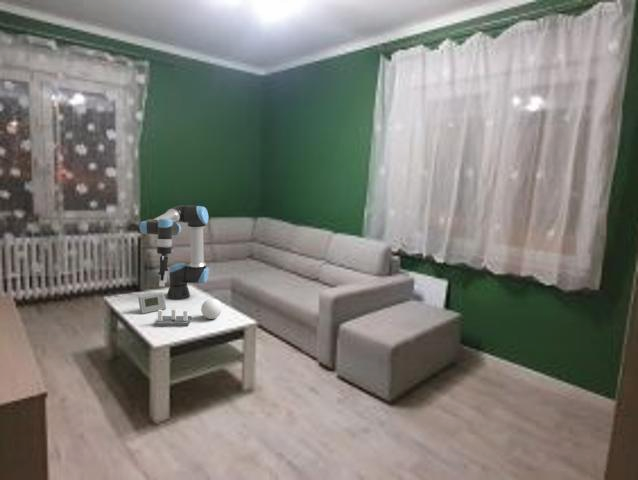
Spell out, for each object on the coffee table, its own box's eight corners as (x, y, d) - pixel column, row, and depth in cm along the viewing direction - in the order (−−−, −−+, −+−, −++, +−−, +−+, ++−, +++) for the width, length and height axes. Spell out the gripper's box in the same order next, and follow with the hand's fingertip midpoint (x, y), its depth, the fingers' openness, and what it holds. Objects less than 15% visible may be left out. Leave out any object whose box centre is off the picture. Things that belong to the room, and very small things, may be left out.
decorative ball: (225, 317, 256) (225, 298, 254) (212, 323, 245) (212, 303, 243) (210, 313, 261) (210, 295, 259) (197, 319, 250) (197, 300, 248)
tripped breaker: (172, 318, 244) (172, 308, 243) (176, 318, 244) (175, 308, 243) (171, 319, 241) (171, 309, 240) (175, 319, 242) (175, 309, 241)
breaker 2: (184, 319, 242) (184, 309, 241) (187, 319, 242) (187, 309, 241) (183, 321, 240) (183, 311, 239) (186, 321, 240) (186, 311, 239)
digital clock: (140, 314, 253) (139, 298, 252) (137, 310, 261) (136, 294, 259) (167, 311, 262) (167, 294, 260) (164, 306, 270) (164, 291, 268)
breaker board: (160, 319, 248) (160, 315, 247) (191, 319, 250) (191, 315, 250) (155, 326, 236) (155, 323, 236) (188, 326, 238) (188, 323, 238)
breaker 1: (159, 319, 240) (158, 309, 239) (162, 319, 240) (162, 309, 240) (157, 321, 238) (157, 311, 237) (161, 321, 238) (161, 311, 237)
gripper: (159, 244, 243) (158, 280, 244) (154, 247, 219) (153, 287, 220) (173, 245, 245) (171, 281, 246) (169, 248, 221) (168, 288, 222)
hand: (163, 284), depth 233 cm, fingers open, 13 cm apart
